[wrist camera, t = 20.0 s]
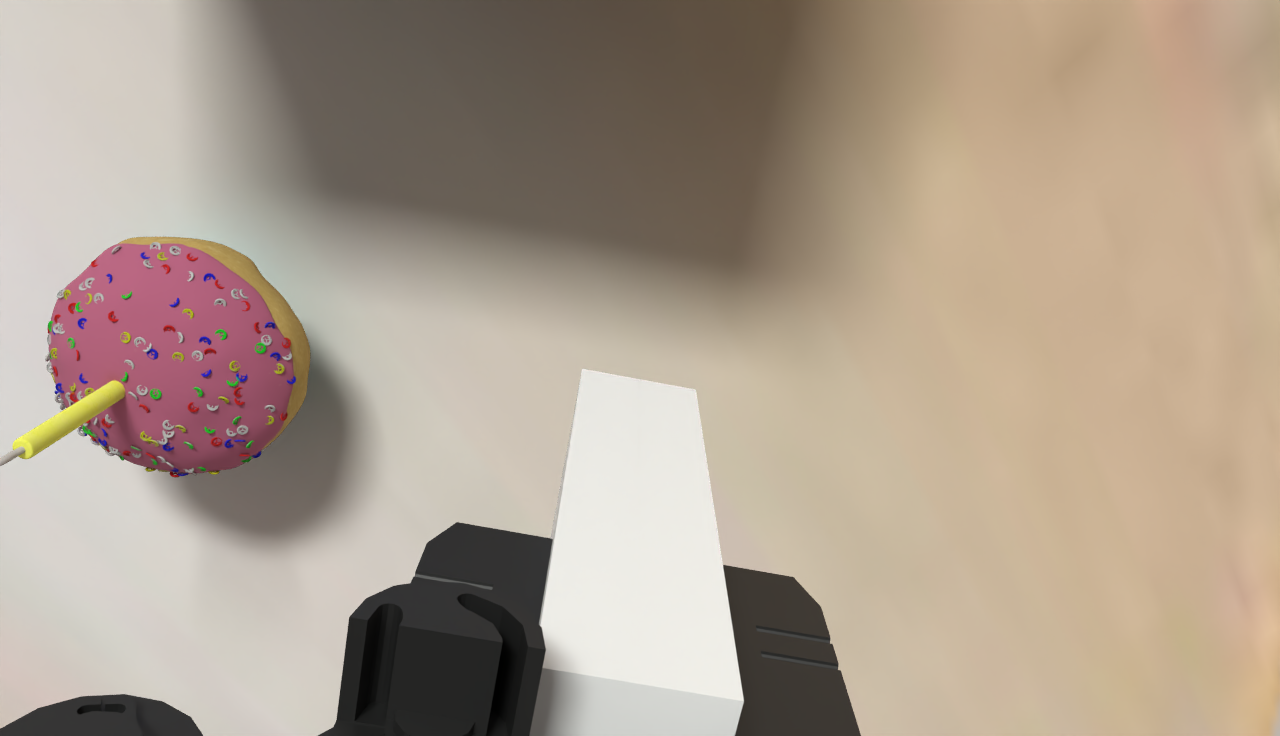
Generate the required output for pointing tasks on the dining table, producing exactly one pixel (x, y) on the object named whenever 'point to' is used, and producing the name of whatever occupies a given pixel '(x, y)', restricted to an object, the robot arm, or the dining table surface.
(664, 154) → the dining table surface
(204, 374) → the cupcake
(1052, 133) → the dining table surface
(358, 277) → the dining table surface
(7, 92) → the dining table surface
